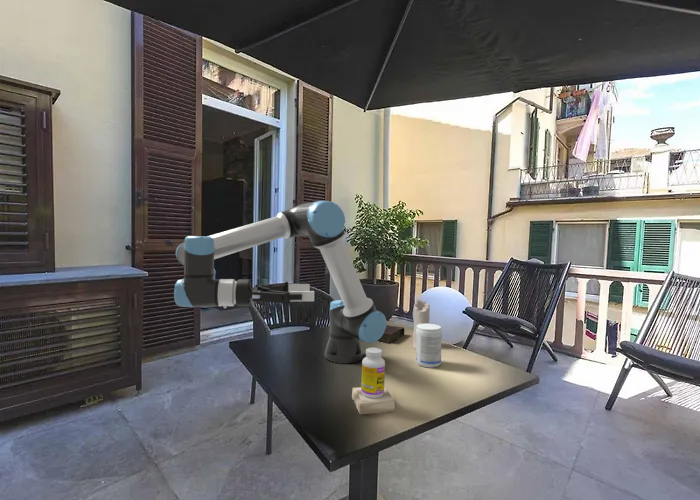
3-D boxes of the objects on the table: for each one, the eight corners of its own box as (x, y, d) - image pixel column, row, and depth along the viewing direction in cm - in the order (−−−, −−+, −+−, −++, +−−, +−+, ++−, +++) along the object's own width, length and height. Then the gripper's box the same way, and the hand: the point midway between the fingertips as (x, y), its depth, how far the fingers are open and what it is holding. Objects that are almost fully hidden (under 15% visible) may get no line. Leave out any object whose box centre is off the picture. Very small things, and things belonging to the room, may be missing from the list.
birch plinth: (352, 397, 105) (352, 387, 105) (383, 395, 107) (384, 385, 107) (359, 414, 96) (360, 403, 95) (394, 411, 98) (394, 400, 97)
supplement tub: (446, 365, 134) (447, 327, 133) (428, 370, 128) (429, 330, 128) (427, 357, 142) (428, 321, 141) (410, 362, 136) (411, 324, 136)
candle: (414, 351, 149) (415, 304, 148) (412, 341, 163) (413, 299, 162) (431, 352, 148) (433, 305, 148) (428, 342, 162) (429, 299, 161)
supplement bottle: (377, 401, 97) (378, 355, 96) (356, 394, 100) (358, 350, 100) (387, 392, 102) (389, 349, 102) (368, 386, 106) (369, 344, 105)
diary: (360, 328, 186) (360, 319, 186) (404, 336, 174) (404, 326, 174) (342, 336, 170) (342, 326, 170) (389, 345, 158) (389, 334, 157)
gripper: (240, 298, 110) (307, 297, 115) (230, 316, 86) (316, 314, 90) (240, 274, 110) (308, 274, 114) (230, 286, 86) (316, 285, 90)
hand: (311, 292), depth 102 cm, fingers open, 13 cm apart
